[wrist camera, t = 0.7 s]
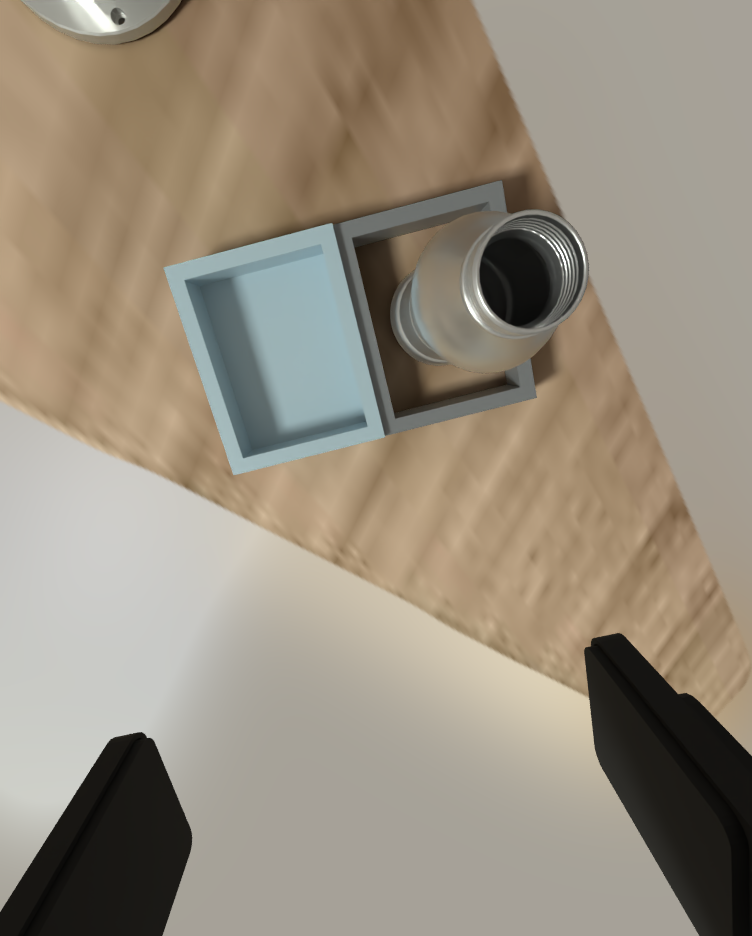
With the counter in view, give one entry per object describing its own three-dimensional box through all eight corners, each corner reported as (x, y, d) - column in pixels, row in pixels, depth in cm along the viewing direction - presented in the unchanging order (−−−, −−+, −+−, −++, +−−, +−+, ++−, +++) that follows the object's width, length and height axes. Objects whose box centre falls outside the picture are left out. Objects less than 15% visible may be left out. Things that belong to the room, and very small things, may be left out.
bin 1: (184, 276, 32) (163, 267, 29) (335, 236, 32) (332, 222, 29) (245, 463, 36) (233, 475, 32) (382, 429, 35) (385, 437, 32)
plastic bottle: (435, 249, 33) (546, 96, 13) (495, 323, 34) (677, 283, 14) (369, 314, 33) (381, 261, 14) (430, 383, 35) (518, 422, 15)
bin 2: (335, 236, 32) (332, 225, 29) (488, 196, 32) (501, 180, 29) (382, 429, 35) (384, 435, 33) (522, 394, 35) (536, 397, 32)
